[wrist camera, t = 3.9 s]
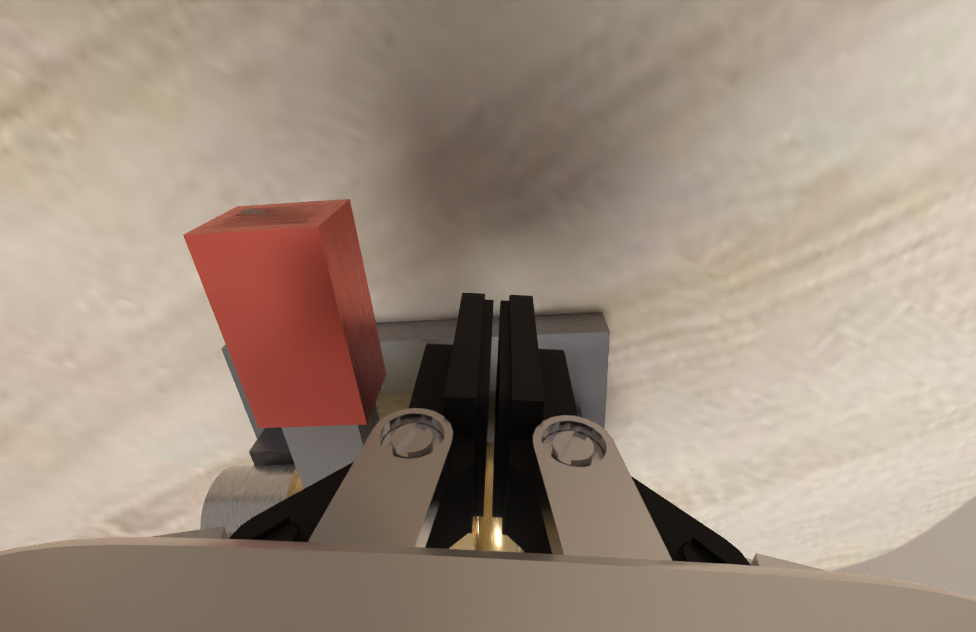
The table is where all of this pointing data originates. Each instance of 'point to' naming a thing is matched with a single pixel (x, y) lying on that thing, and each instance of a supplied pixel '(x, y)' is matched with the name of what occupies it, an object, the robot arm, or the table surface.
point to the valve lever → (297, 324)
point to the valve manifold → (402, 350)
